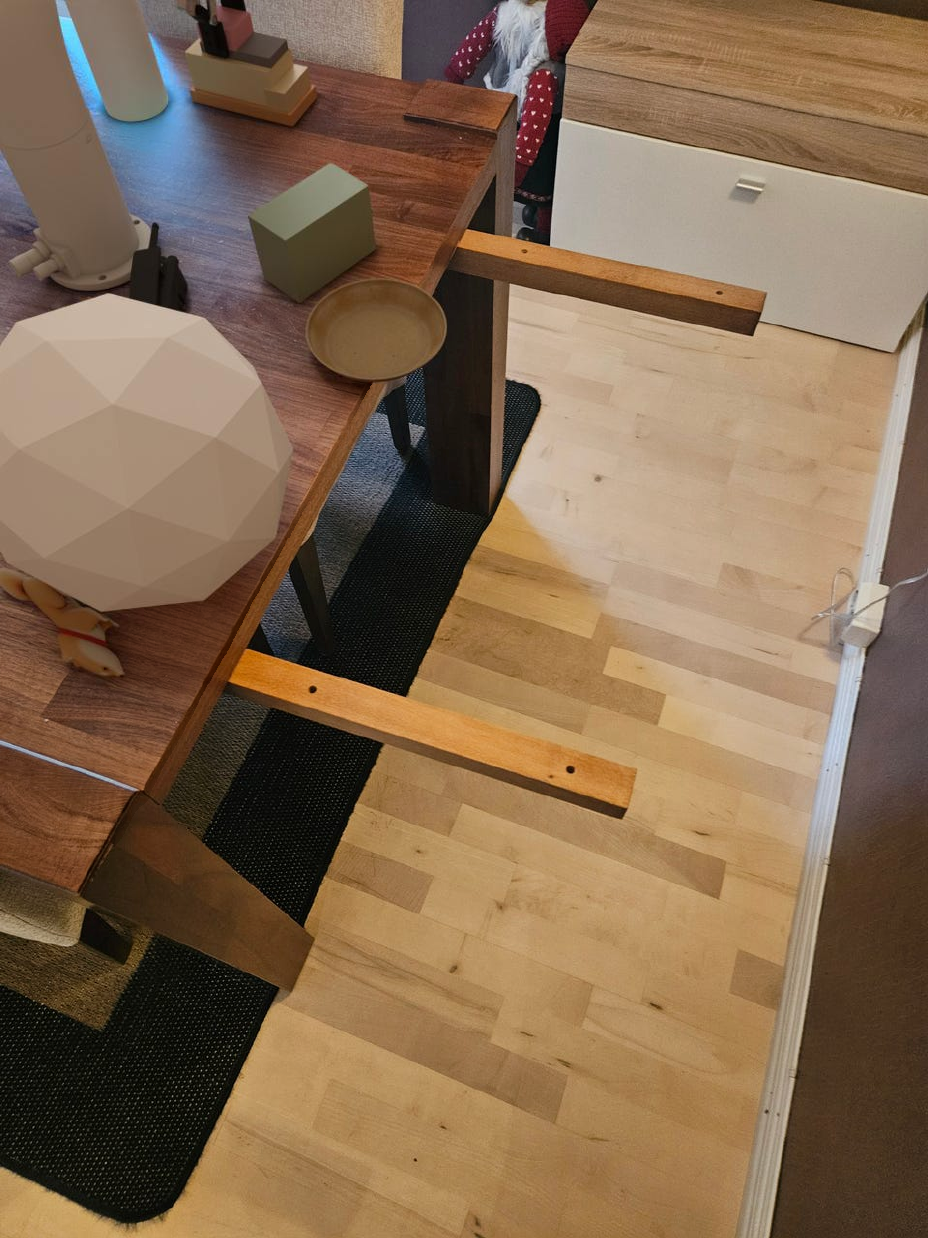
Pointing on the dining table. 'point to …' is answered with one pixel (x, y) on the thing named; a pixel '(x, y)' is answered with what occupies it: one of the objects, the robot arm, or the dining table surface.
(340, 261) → the rectangular block
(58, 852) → the dining table surface
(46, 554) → the geometric shape
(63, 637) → the toy
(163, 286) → the walkie-talkie
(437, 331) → the plant saucer
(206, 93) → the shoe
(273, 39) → the grey and pink l-bracket
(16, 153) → the robot arm
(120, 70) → the cup
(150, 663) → the dining table surface
